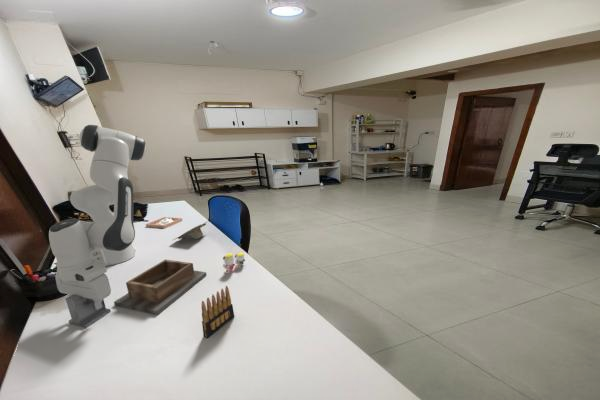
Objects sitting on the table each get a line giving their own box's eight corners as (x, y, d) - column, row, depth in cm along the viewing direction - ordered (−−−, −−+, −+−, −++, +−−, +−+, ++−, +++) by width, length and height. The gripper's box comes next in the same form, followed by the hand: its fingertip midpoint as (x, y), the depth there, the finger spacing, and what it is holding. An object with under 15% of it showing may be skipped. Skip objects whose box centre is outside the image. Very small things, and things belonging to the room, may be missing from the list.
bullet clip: (230, 315, 85) (226, 283, 82) (234, 317, 84) (230, 285, 81) (203, 336, 76) (197, 301, 73) (207, 338, 75) (201, 303, 72)
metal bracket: (69, 323, 84) (61, 297, 81) (94, 308, 91) (87, 283, 89) (86, 328, 82) (78, 301, 79) (110, 312, 89) (104, 286, 86)
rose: (174, 215, 186) (171, 219, 177) (175, 221, 187) (172, 225, 178) (159, 217, 184) (155, 221, 174) (160, 223, 185) (156, 227, 175)
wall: (181, 254, 143) (202, 234, 140) (169, 241, 142) (189, 221, 140) (197, 245, 161) (215, 227, 159) (187, 233, 161) (205, 216, 159)
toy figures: (241, 262, 121) (239, 246, 119) (247, 264, 118) (246, 248, 116) (220, 273, 111) (218, 256, 109) (226, 276, 109) (224, 258, 107)
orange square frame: (146, 226, 177) (145, 224, 176) (164, 219, 192) (164, 216, 191) (164, 228, 172) (164, 225, 171) (182, 220, 187) (181, 218, 186)
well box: (114, 305, 92) (110, 287, 90) (169, 269, 116) (167, 254, 114) (157, 314, 86) (153, 295, 84) (206, 275, 110) (204, 259, 108)
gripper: (44, 270, 82) (56, 307, 86) (89, 278, 76) (100, 317, 79) (67, 261, 88) (77, 296, 91) (109, 267, 82) (119, 304, 85)
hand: (88, 306), depth 85 cm, fingers open, 8 cm apart
